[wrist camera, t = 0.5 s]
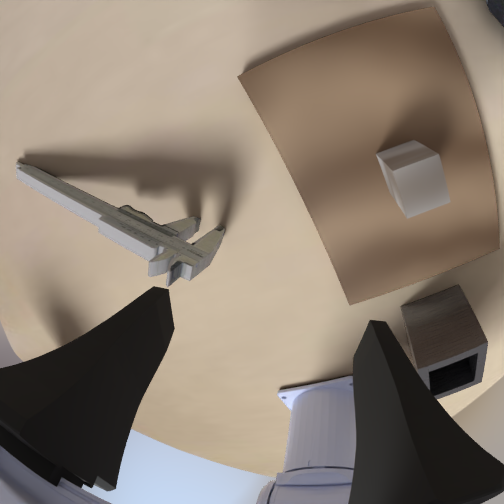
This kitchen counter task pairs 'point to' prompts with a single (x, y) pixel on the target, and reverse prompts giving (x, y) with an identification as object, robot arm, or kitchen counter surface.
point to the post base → (383, 150)
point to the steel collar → (445, 341)
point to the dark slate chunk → (497, 9)
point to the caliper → (133, 228)
